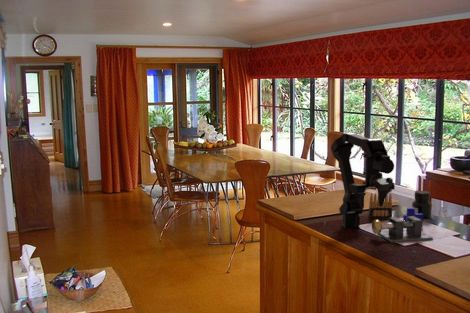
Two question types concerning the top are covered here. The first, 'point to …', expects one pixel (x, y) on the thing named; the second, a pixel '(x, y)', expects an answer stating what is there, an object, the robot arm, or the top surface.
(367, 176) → the robot arm
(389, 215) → the ammunition clip
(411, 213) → the cable clip
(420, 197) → the ink bottle
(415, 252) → the top surface
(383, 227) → the shaft
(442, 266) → the top surface
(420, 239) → the housing
